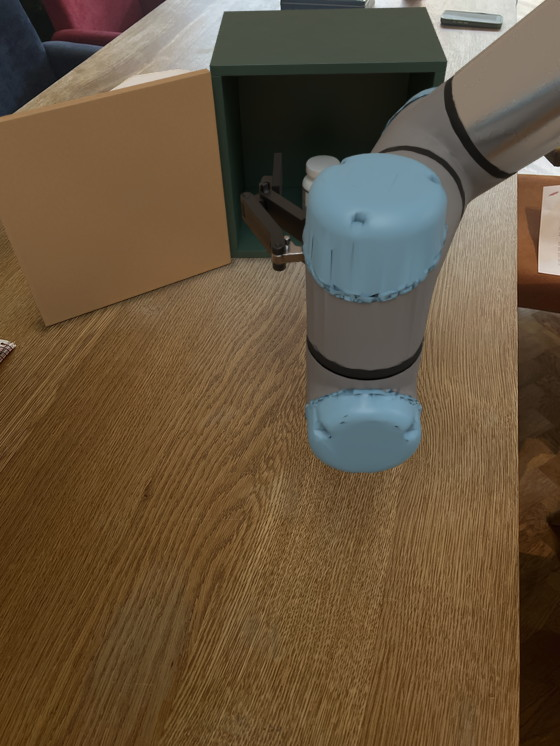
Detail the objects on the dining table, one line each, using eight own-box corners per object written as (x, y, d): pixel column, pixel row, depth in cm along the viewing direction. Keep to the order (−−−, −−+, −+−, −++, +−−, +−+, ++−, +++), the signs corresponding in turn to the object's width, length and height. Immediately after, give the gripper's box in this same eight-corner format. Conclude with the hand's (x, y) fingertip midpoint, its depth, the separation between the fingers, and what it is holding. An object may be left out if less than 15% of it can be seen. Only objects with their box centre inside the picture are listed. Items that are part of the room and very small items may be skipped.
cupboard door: (33, 296, 83) (-48, 104, 64) (211, 237, 91) (186, 51, 72) (46, 327, 79) (-38, 130, 60) (231, 262, 87) (210, 71, 68)
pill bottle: (330, 241, 88) (332, 178, 81) (295, 230, 90) (294, 168, 83) (347, 221, 91) (351, 158, 84) (313, 211, 93) (314, 149, 86)
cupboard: (415, 256, 87) (447, 60, 67) (230, 257, 88) (209, 65, 68) (401, 189, 99) (426, 6, 79) (239, 190, 100) (223, 11, 81)
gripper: (206, 330, 53) (228, 197, 67) (499, 328, 52) (458, 193, 66) (193, 259, 47) (220, 131, 62) (521, 255, 46) (471, 125, 61)
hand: (343, 163), depth 64 cm, fingers open, 13 cm apart
